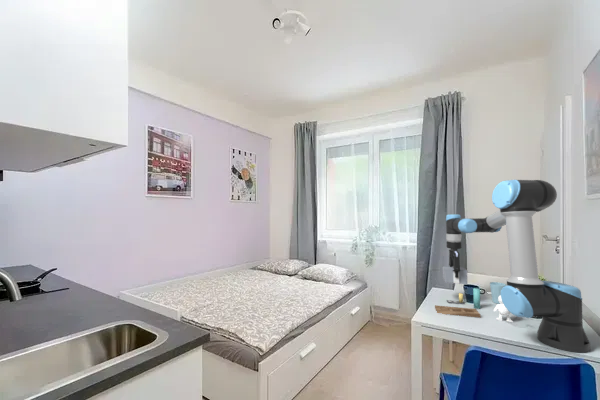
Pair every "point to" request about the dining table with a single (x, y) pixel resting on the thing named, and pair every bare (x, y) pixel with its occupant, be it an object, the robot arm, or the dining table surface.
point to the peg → (476, 298)
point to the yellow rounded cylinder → (457, 301)
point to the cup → (496, 290)
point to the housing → (449, 275)
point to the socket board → (458, 311)
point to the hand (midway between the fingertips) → (454, 281)
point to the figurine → (502, 310)
